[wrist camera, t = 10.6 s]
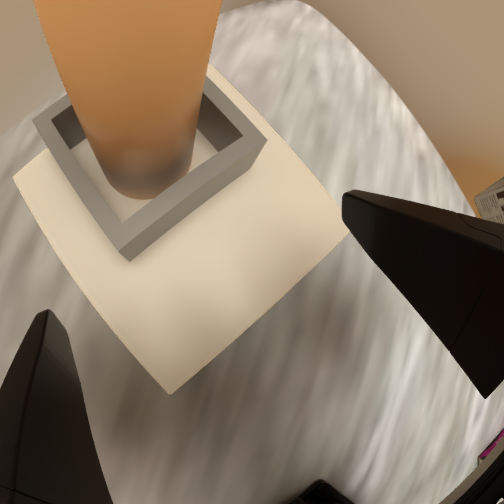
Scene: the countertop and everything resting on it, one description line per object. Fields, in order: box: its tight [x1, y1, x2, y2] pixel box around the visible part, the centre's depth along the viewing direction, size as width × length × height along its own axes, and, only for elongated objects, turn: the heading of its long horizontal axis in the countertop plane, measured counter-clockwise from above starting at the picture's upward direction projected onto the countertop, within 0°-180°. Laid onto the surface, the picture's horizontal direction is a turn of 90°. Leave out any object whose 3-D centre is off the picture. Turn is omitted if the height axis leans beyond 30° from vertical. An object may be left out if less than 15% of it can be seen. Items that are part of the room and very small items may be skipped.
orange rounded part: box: [33, 0, 222, 200], centre depth 10 cm, size 5×5×13 cm
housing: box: [13, 63, 350, 395], centre depth 15 cm, size 15×14×5 cm
